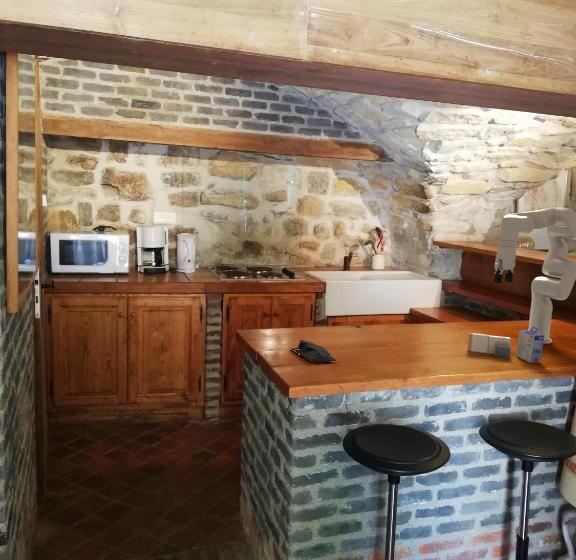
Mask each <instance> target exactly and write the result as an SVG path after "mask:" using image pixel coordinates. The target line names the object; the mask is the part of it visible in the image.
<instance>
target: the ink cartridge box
mask: <svg viewBox="0 0 576 560" xmlns="http://www.w3.org/2000/svg"><path fill="white" fill-rule="evenodd" d="M532 329H536V331H534V330H532ZM537 330H538V328H536V327H532V328H531V329H530V330H528V329H520V330H519V334H518V335H519V336H518V341H517V342H518V343H517V348H516V354H515V355H516V356H515V357H517V358H519V359H521V360H524V361H526V362H528V363H530V364H533V363H534V364H535V363H536V364H541V363H542V355H543V354H542V353H543V347H544V344H543V341H544V335H541V334H539V333H536V332H537Z"/></svg>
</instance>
